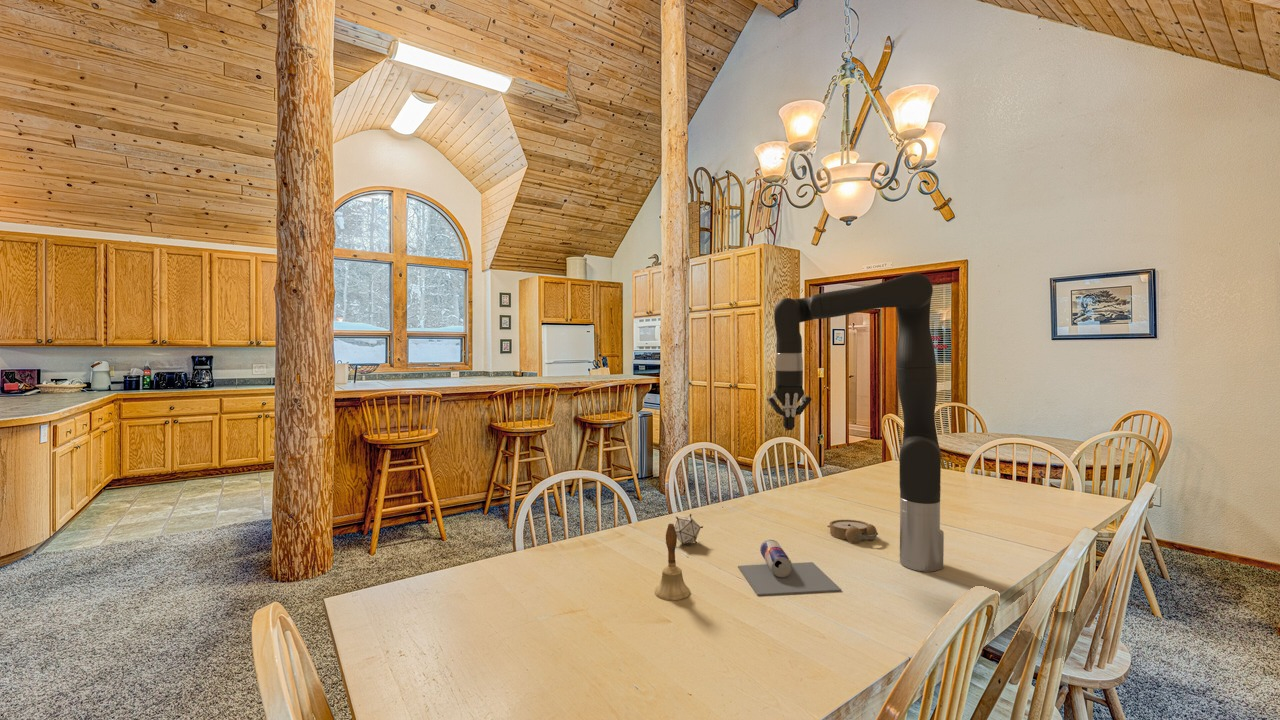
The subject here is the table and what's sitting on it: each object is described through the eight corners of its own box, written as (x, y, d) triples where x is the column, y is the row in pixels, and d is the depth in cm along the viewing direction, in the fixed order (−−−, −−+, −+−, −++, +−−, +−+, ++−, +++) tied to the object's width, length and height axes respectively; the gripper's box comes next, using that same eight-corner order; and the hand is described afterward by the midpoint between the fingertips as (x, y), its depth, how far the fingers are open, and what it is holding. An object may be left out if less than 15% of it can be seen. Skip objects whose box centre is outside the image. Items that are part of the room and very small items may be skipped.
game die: (692, 558, 155) (704, 537, 150) (664, 547, 155) (676, 526, 150) (696, 533, 163) (708, 512, 157) (669, 523, 163) (680, 502, 157)
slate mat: (812, 563, 142) (812, 562, 142) (841, 591, 126) (841, 589, 126) (737, 567, 140) (737, 565, 140) (757, 595, 124) (757, 594, 124)
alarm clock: (851, 517, 170) (886, 524, 156) (852, 534, 169) (888, 541, 155) (821, 521, 167) (854, 528, 153) (822, 538, 166) (856, 546, 152)
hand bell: (660, 602, 121) (660, 531, 120) (650, 587, 129) (649, 520, 128) (695, 598, 123) (695, 528, 122) (683, 582, 131) (682, 517, 130)
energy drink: (768, 534, 144) (780, 552, 132) (784, 547, 144) (797, 565, 132) (755, 550, 144) (766, 569, 132) (771, 562, 144) (783, 582, 132)
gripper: (770, 369, 150) (770, 432, 150) (817, 369, 151) (816, 431, 151) (762, 368, 157) (762, 428, 158) (806, 368, 158) (805, 427, 159)
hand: (788, 429), depth 155 cm, fingers closed
